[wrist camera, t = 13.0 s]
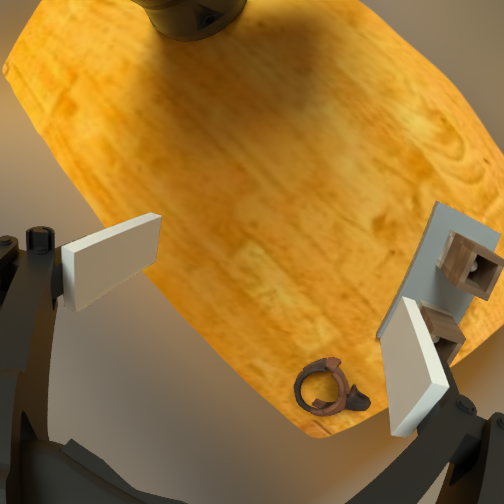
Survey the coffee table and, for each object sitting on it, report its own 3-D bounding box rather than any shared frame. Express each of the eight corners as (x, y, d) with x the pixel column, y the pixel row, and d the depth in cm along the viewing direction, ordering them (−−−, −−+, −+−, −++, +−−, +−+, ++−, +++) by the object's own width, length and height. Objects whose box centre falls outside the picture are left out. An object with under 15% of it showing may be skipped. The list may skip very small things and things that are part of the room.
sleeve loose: (419, 299, 37) (434, 327, 29) (448, 310, 36) (466, 339, 28) (403, 330, 38) (413, 362, 31) (431, 339, 37) (444, 372, 30)
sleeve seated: (450, 228, 33) (474, 244, 26) (479, 243, 32) (506, 260, 25) (435, 264, 35) (455, 287, 27) (464, 277, 34) (487, 301, 27)
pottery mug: (298, 399, 48) (281, 411, 41) (313, 348, 49) (298, 351, 42) (365, 419, 42) (359, 434, 35) (382, 365, 44) (380, 372, 36)
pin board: (435, 200, 34) (454, 207, 28) (497, 232, 32) (521, 244, 26) (376, 332, 41) (380, 359, 34) (436, 353, 39) (447, 380, 32)
